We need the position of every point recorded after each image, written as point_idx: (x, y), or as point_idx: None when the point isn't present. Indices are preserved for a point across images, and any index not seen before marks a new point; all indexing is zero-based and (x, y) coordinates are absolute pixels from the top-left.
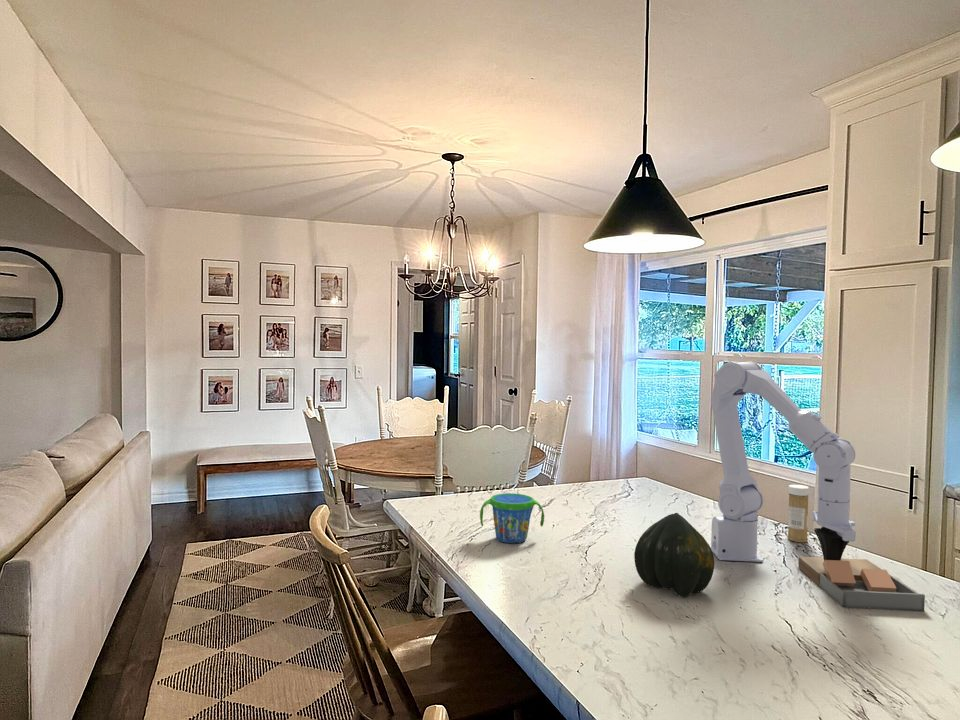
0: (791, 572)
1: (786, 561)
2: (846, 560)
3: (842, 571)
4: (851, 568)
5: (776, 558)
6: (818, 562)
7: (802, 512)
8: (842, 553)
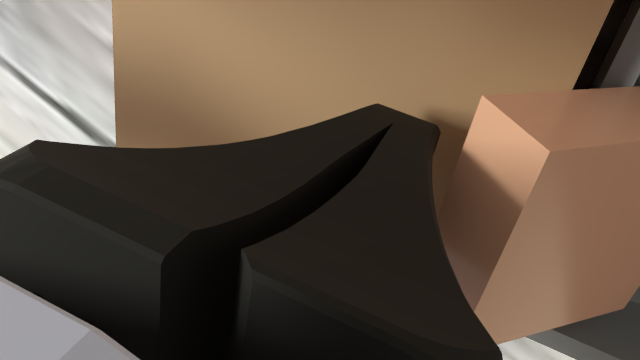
0: None
1: (74, 105)
2: None
3: (602, 228)
4: None
5: (37, 126)
6: (230, 107)
7: None
8: (431, 194)
